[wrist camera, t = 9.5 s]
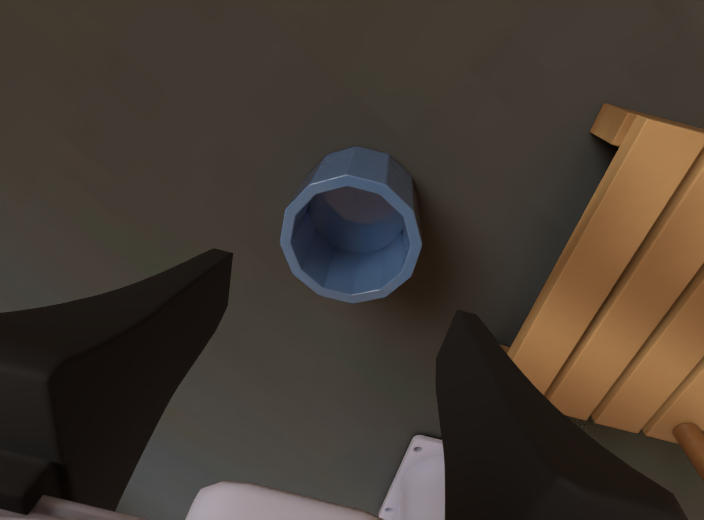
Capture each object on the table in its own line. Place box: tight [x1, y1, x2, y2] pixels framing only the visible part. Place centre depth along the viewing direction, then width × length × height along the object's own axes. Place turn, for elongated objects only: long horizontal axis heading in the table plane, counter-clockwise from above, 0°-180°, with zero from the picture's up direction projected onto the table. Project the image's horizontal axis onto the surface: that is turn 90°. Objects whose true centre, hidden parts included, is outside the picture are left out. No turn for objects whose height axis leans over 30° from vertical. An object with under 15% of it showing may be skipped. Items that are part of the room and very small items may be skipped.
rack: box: [500, 103, 704, 481], centre depth 17 cm, size 14×11×8 cm
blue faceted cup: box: [280, 146, 422, 304], centre depth 19 cm, size 6×6×4 cm
